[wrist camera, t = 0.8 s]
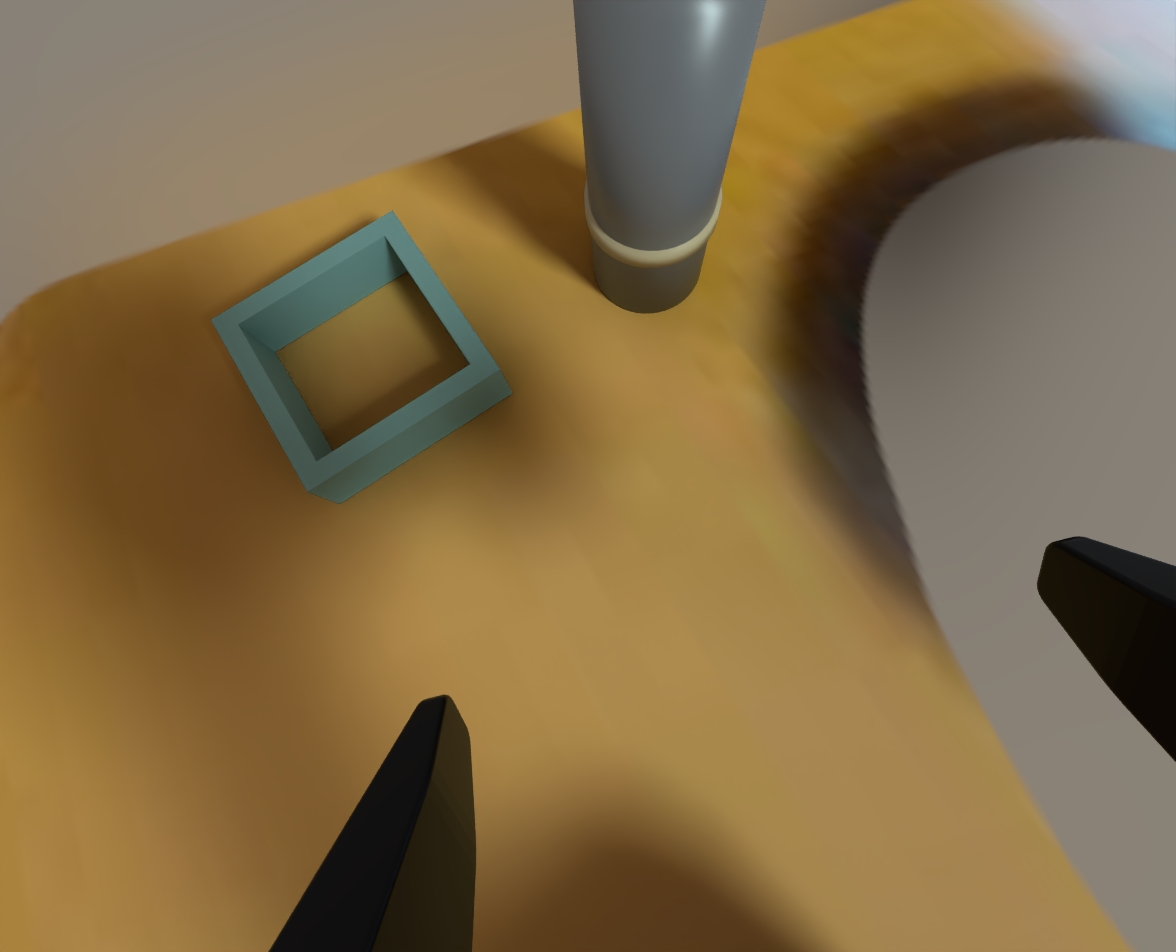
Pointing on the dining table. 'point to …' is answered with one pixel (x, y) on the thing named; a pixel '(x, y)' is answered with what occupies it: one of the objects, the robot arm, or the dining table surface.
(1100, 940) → the dining table surface
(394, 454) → the frame
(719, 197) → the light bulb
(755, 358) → the dining table surface
